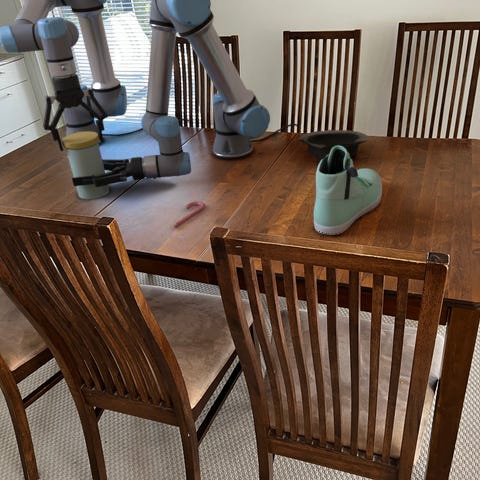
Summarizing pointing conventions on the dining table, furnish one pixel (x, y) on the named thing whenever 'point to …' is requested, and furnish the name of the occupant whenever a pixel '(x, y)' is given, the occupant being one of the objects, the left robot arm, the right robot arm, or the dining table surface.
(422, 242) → the dining table surface
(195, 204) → the candy cane
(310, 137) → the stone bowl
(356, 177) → the sneaker
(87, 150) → the jar
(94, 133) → the lid
